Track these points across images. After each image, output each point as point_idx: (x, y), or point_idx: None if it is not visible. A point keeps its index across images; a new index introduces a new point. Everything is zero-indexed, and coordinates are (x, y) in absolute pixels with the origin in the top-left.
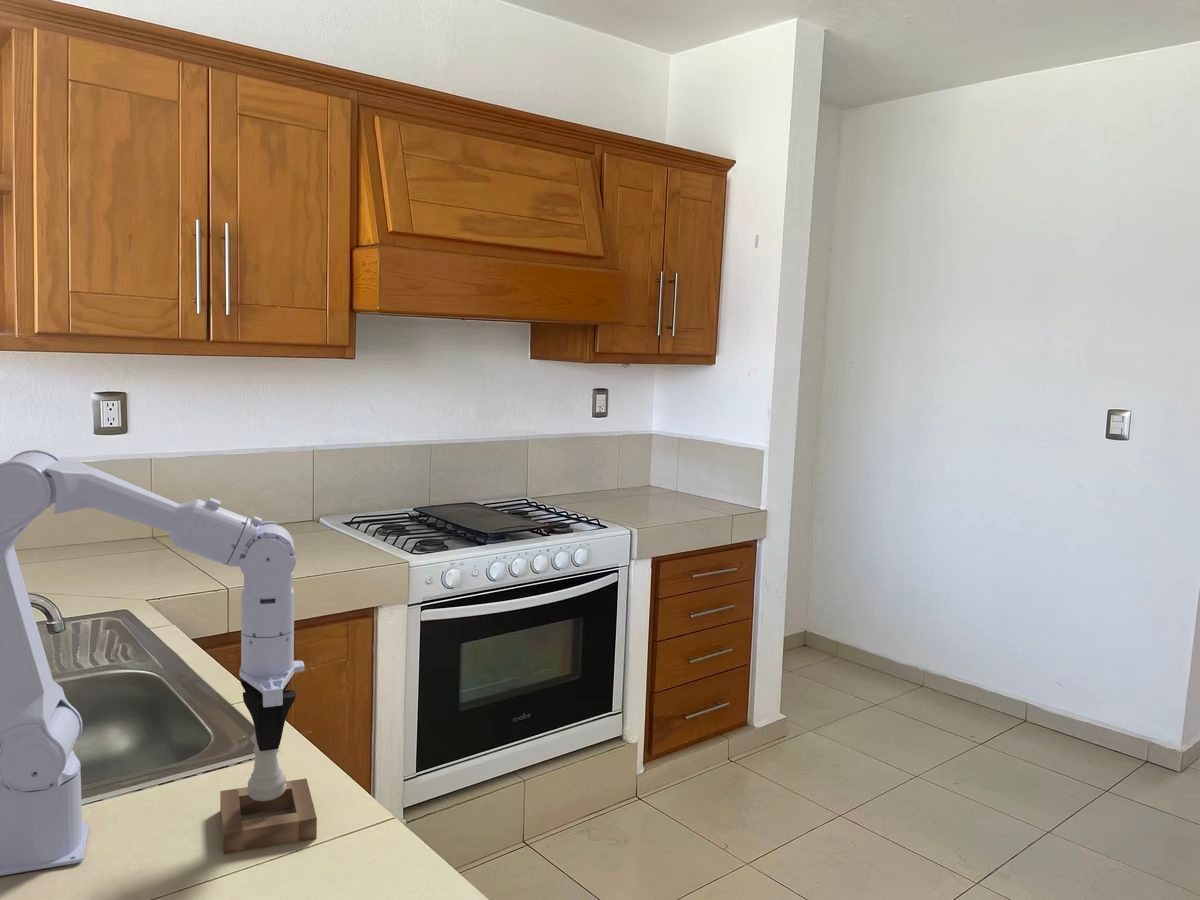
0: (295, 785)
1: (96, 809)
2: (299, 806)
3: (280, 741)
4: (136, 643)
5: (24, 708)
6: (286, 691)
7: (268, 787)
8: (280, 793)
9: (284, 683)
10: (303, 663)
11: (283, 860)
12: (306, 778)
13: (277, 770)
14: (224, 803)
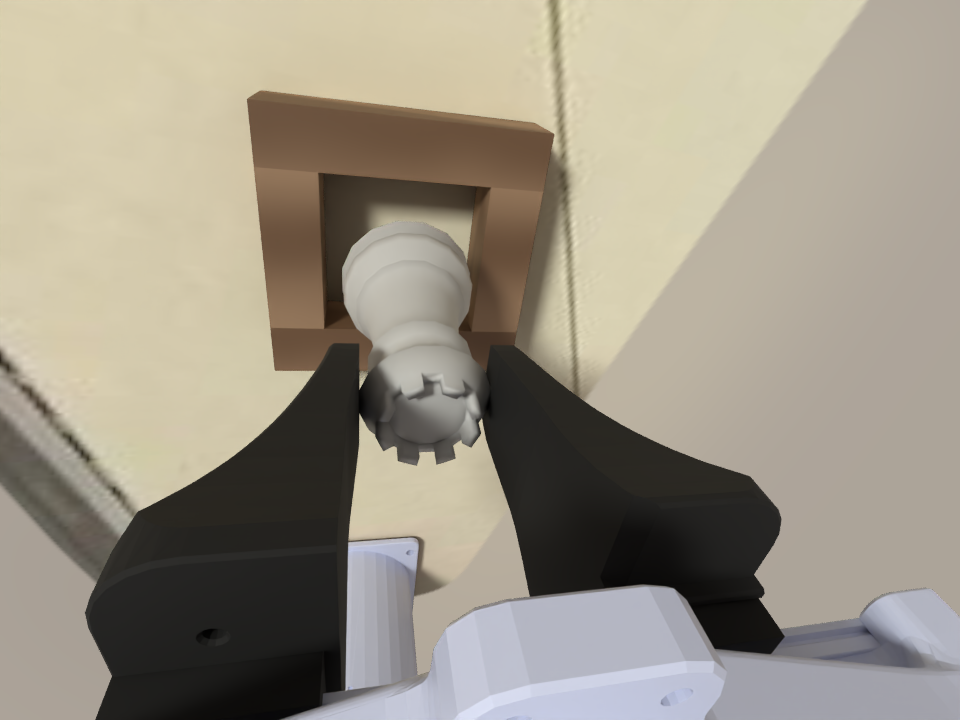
0: (298, 153)
1: None
2: (456, 171)
3: (524, 354)
4: None
5: None
6: (657, 552)
7: (468, 300)
8: (458, 249)
9: (940, 709)
10: (634, 681)
11: (587, 226)
12: (249, 99)
13: (443, 286)
14: None
